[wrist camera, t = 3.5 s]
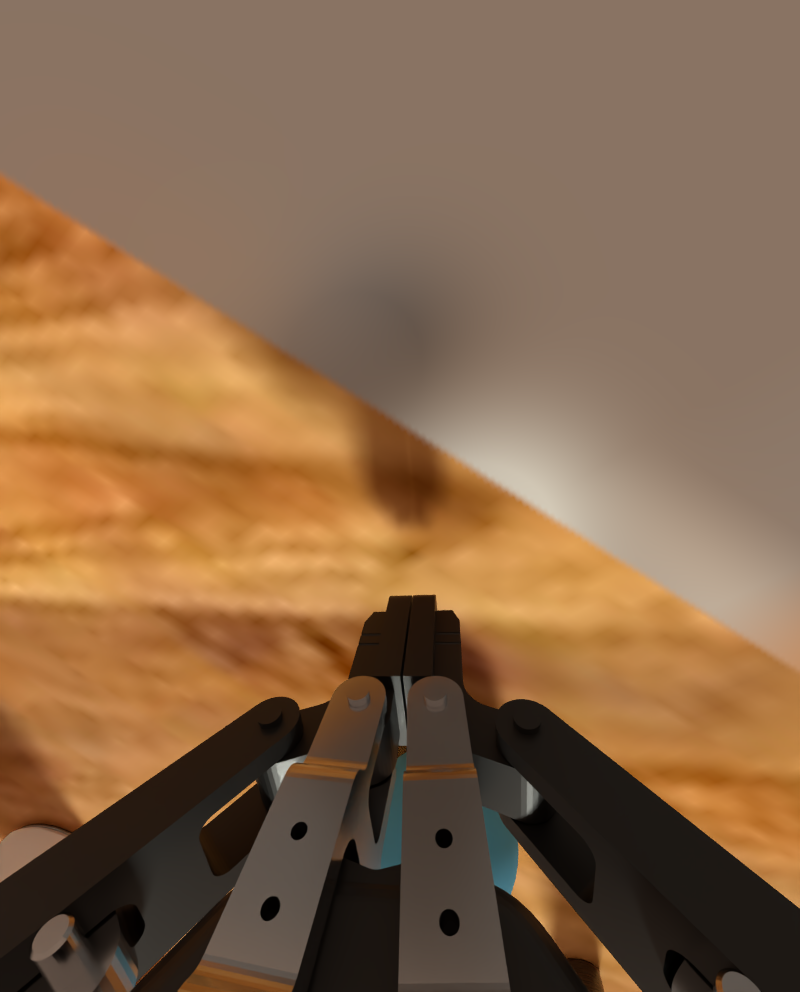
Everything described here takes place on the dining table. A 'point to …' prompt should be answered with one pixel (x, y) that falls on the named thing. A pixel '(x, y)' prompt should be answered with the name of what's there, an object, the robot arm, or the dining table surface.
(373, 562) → the dining table surface
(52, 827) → the can
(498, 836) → the ball
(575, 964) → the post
